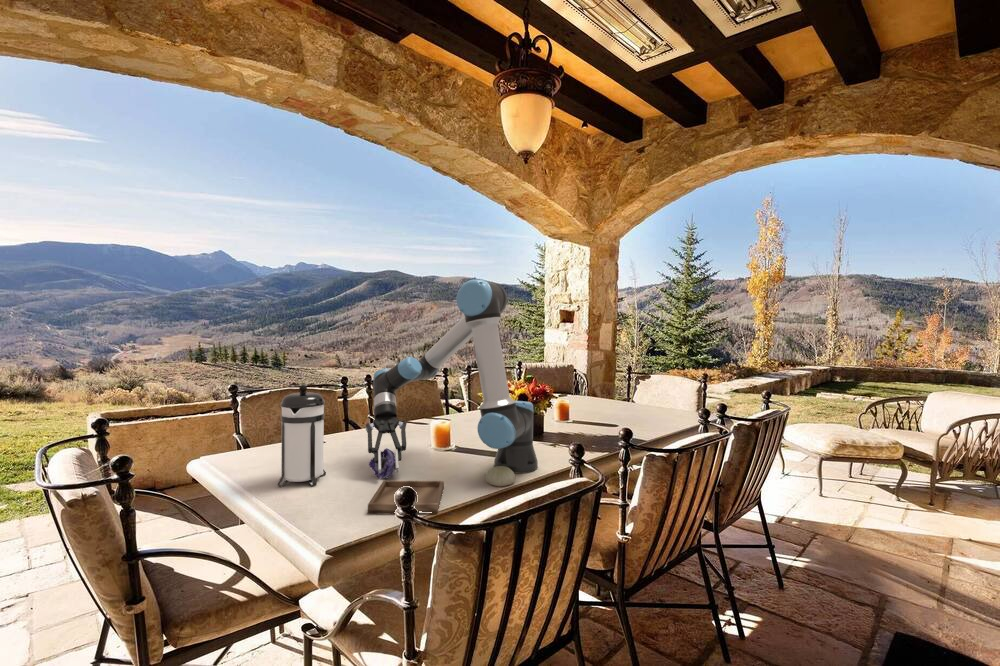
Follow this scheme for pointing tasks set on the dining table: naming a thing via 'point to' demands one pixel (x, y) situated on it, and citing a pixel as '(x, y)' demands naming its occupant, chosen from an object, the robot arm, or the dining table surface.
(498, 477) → the sea urchin shell
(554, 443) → the dining table surface
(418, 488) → the walnut tray
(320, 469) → the coffee press
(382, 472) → the amethyst cluster
